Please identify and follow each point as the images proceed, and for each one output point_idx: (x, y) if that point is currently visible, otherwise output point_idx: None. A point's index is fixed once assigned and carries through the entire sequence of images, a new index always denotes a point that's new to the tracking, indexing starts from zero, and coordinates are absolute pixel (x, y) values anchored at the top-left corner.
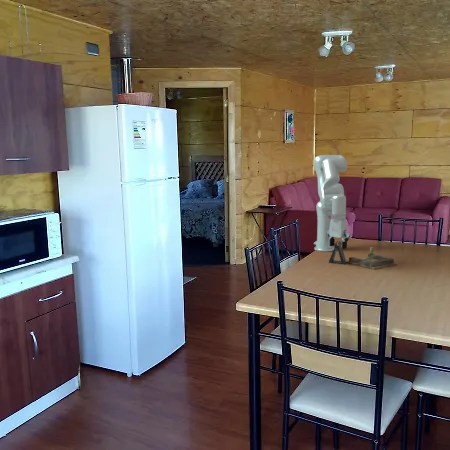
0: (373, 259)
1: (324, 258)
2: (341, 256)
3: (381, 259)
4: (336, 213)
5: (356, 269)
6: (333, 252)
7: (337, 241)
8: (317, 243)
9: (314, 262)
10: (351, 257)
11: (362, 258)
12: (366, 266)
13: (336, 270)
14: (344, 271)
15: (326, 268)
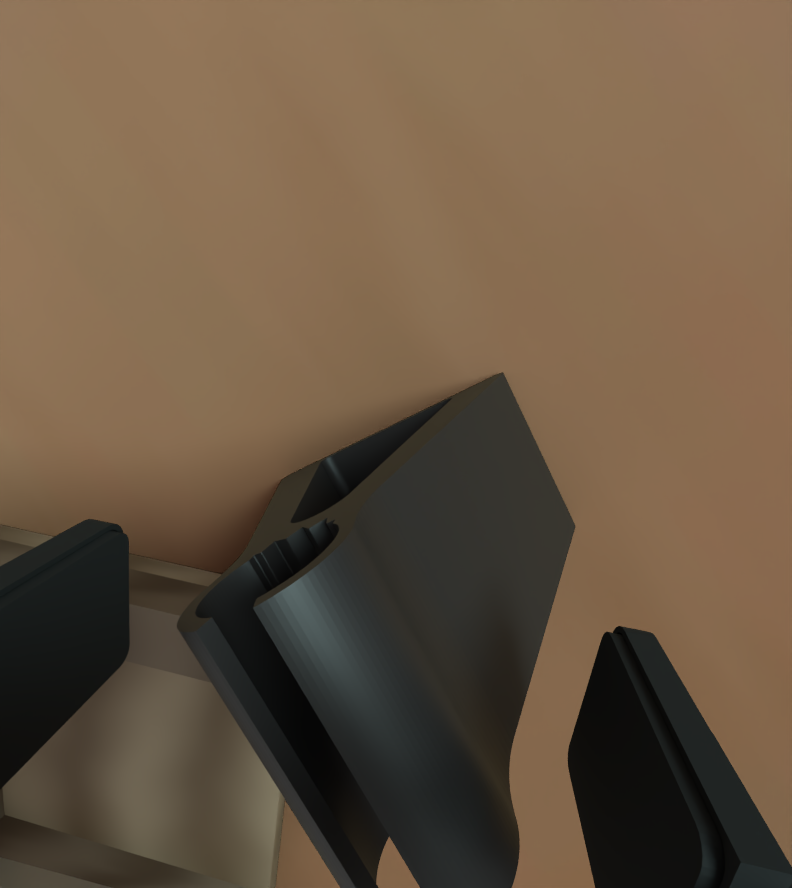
0: (161, 838)
1: (740, 573)
2: (280, 497)
3: (66, 851)
4: None
5: (18, 361)
6: (409, 449)
7: (413, 867)
8: None
9: (724, 209)
10: None
11: (271, 813)
12: (10, 535)
13: (120, 74)
14: (22, 131)
15: (297, 34)
